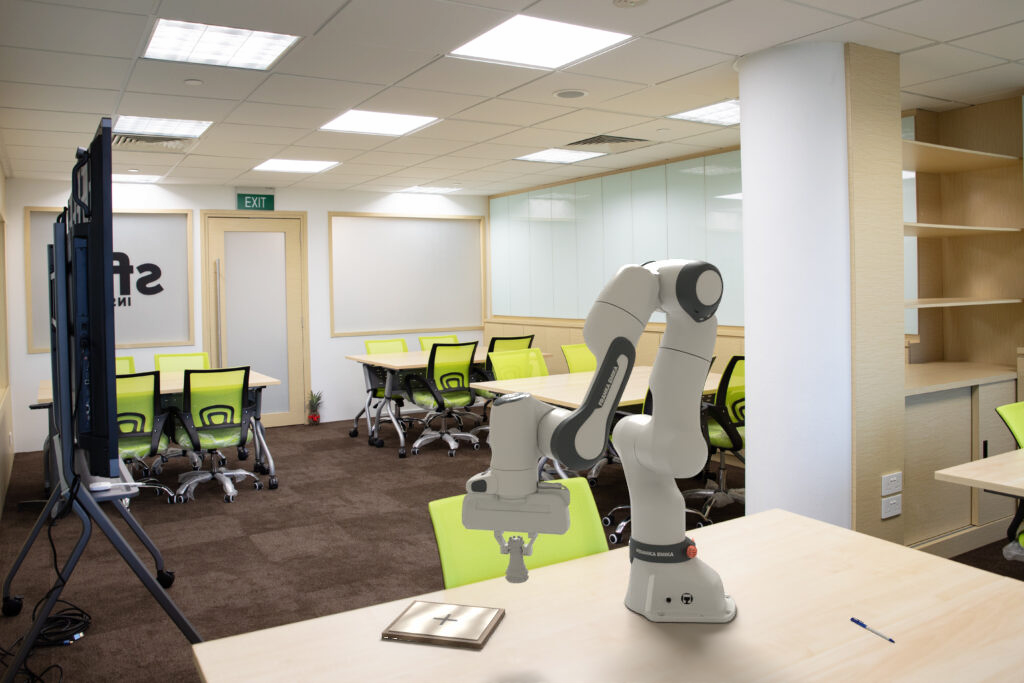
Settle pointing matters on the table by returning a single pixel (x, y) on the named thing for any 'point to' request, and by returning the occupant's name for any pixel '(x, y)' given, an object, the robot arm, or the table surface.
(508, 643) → the table surface
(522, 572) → the rook chess piece
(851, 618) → the ballpoint pen
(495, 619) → the brown-bordered mat
